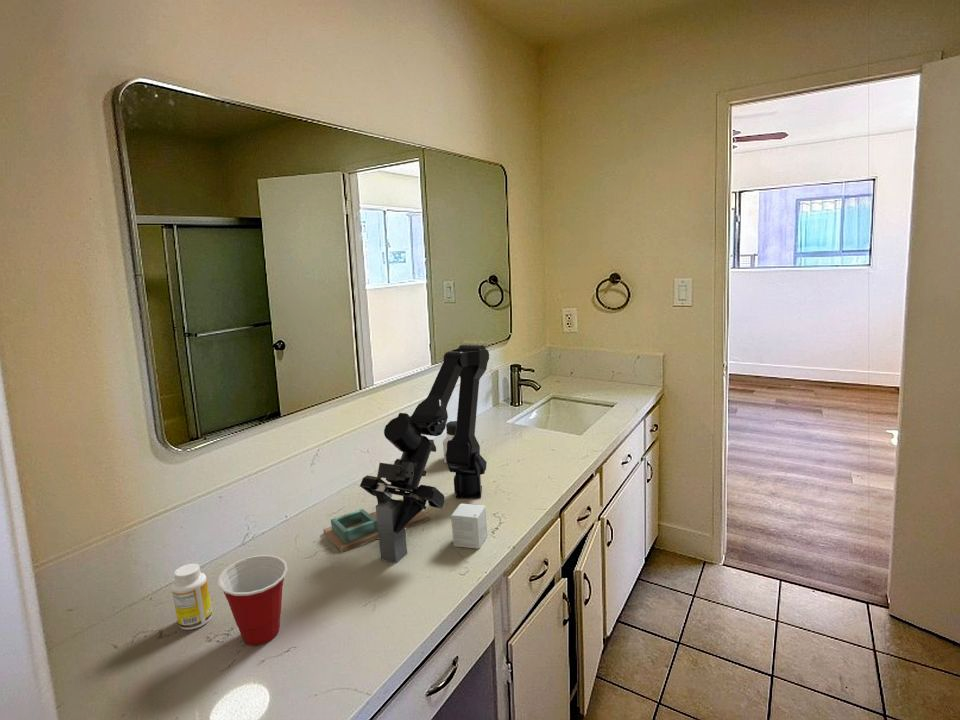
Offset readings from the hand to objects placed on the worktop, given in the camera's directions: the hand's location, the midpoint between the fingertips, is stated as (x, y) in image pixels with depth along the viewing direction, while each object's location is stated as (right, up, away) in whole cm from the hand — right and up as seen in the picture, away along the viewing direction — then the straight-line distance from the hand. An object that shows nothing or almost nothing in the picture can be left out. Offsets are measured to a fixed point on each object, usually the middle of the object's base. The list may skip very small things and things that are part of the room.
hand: (387, 530), depth 115 cm
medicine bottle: (+12, +5, +56) cm, 58 cm away
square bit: (+1, -6, +2) cm, 7 cm away
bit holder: (-5, -4, +16) cm, 17 cm away
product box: (+17, -5, +7) cm, 19 cm away
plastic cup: (-18, -12, -20) cm, 29 cm away
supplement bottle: (-32, -12, -15) cm, 37 cm away
